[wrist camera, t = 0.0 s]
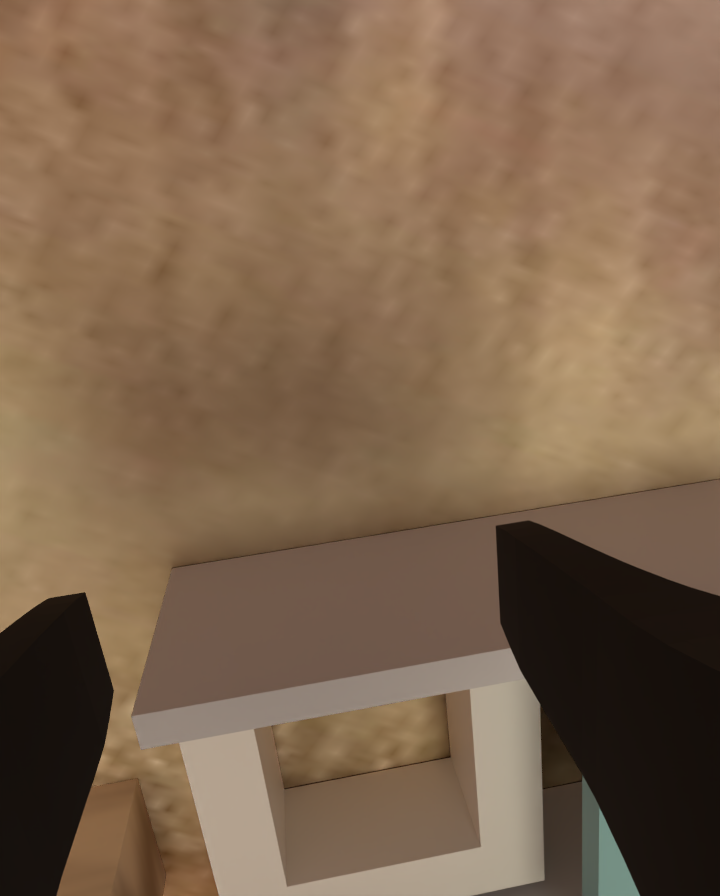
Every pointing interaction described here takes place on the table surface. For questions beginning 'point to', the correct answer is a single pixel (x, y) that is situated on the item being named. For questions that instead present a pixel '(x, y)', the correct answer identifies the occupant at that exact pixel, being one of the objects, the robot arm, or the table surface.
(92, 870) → the peg
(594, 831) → the lid
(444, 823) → the housing
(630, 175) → the table surface
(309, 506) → the table surface
